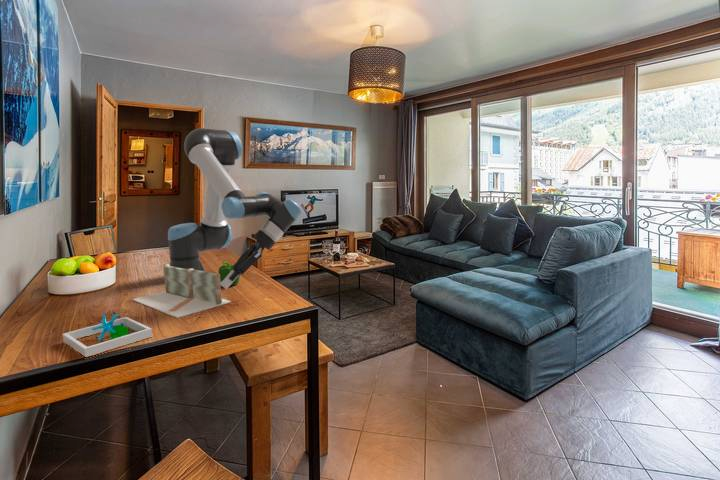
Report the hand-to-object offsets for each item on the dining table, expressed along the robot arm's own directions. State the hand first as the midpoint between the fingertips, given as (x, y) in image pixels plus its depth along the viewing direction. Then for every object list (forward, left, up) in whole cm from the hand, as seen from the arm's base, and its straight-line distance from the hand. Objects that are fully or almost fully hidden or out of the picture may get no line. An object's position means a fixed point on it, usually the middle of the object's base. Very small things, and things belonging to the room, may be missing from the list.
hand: (223, 286), depth 134 cm
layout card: (-13, -9, -5) cm, 16 cm away
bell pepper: (-17, +14, -6) cm, 23 cm away
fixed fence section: (-19, -5, -5) cm, 21 cm away
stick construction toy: (+4, -36, -6) cm, 36 cm away
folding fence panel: (-4, -4, -5) cm, 7 cm away
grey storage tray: (+4, -38, -5) cm, 38 cm away
